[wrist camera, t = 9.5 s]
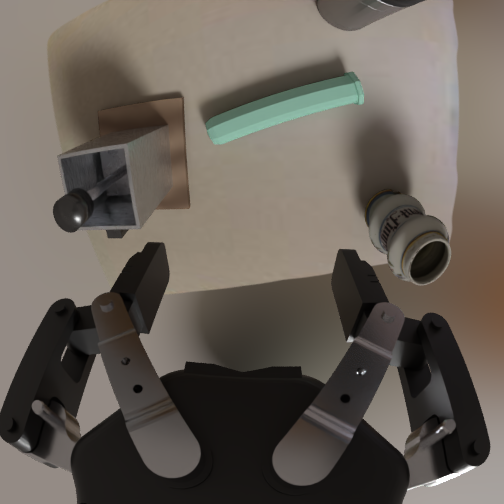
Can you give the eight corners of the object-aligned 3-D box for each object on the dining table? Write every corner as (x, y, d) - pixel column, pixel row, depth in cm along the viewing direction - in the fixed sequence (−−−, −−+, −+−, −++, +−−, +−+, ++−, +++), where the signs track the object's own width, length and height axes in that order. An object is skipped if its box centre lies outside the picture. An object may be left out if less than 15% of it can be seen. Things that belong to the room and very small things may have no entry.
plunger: (101, 146, 36) (32, 183, 21) (148, 139, 36) (88, 174, 21) (109, 194, 40) (52, 249, 26) (154, 191, 40) (106, 250, 26)
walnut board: (101, 110, 39) (97, 111, 38) (183, 97, 39) (181, 97, 38) (115, 208, 50) (112, 211, 48) (190, 206, 49) (188, 208, 48)
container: (207, 147, 38) (367, 97, 32) (196, 114, 37) (351, 64, 32) (218, 153, 44) (359, 108, 38) (208, 122, 43) (346, 79, 37)
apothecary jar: (417, 188, 46) (470, 233, 31) (402, 240, 53) (441, 295, 38) (366, 179, 46) (413, 225, 31) (353, 236, 52) (385, 296, 37)
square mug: (109, 132, 40) (55, 156, 27) (168, 124, 40) (127, 143, 27) (120, 201, 47) (77, 245, 34) (174, 198, 47) (144, 245, 34)
